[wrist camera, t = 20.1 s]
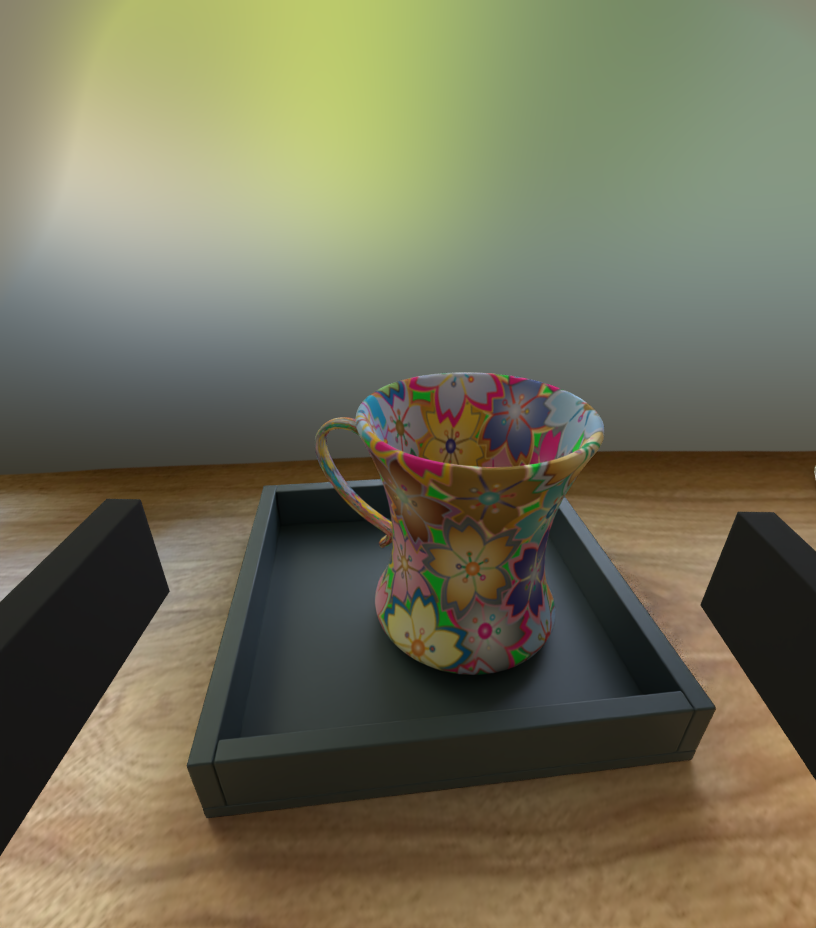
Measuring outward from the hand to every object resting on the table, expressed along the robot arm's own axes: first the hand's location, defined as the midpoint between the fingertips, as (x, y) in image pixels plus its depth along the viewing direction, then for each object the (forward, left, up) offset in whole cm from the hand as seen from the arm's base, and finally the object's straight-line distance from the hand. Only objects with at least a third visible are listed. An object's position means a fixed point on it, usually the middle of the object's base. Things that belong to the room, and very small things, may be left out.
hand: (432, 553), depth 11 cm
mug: (-4, +8, -11) cm, 14 cm away
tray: (-5, +8, -11) cm, 14 cm away
